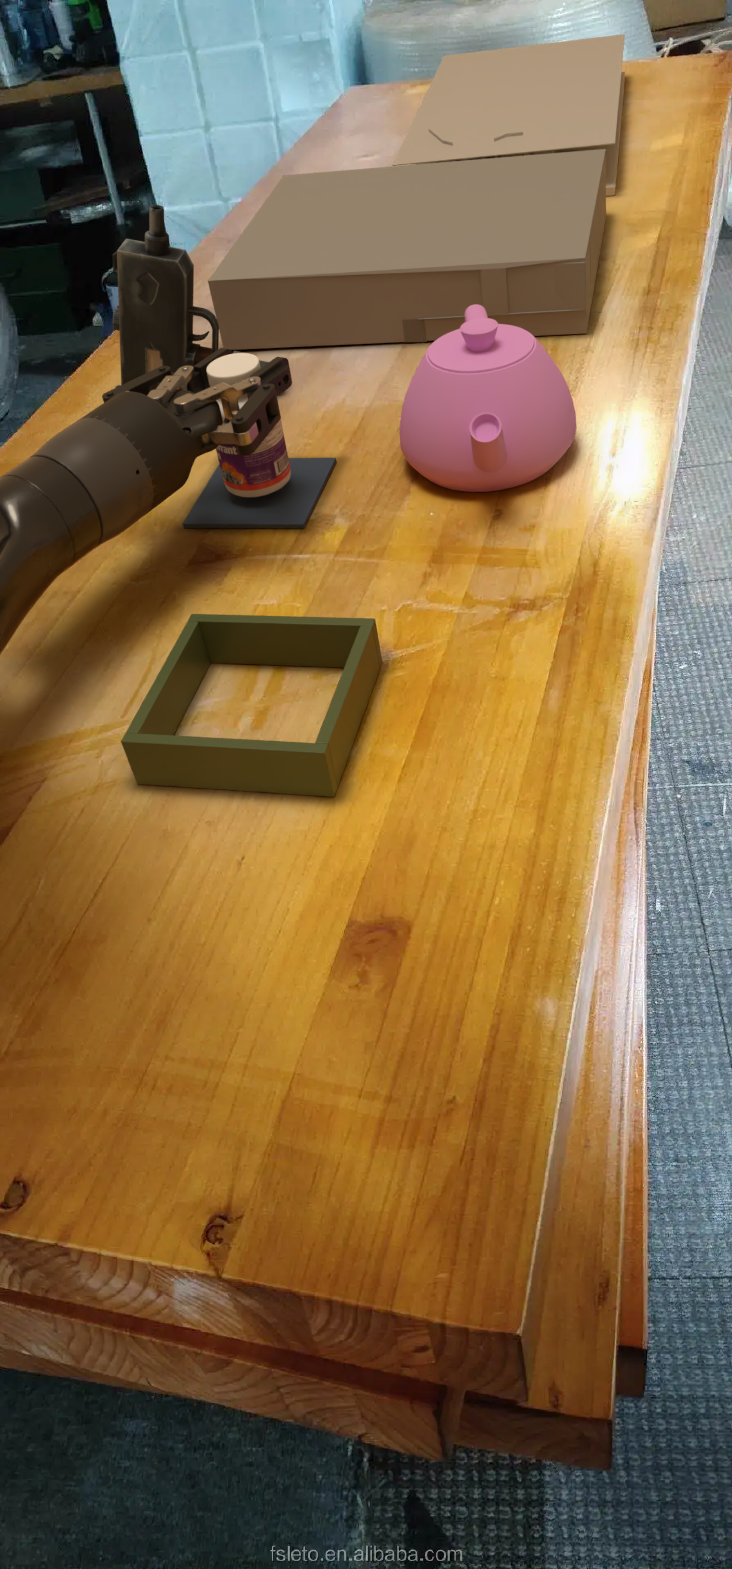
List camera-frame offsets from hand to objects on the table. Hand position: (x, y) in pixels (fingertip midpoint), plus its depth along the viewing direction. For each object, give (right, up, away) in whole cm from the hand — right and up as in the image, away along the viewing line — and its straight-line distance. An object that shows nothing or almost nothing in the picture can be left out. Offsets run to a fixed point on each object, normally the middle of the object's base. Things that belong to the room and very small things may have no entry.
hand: (256, 364), depth 91 cm
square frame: (+2, -28, -15) cm, 32 cm away
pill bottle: (0, -8, +4) cm, 9 cm away
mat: (0, -9, +5) cm, 10 cm away
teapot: (+18, -6, +4) cm, 20 cm away
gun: (-7, +4, +20) cm, 21 cm away
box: (+14, +19, +32) cm, 40 cm away
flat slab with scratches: (+28, +49, +60) cm, 83 cm away
